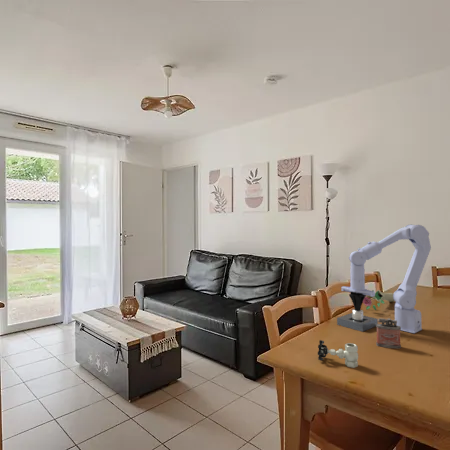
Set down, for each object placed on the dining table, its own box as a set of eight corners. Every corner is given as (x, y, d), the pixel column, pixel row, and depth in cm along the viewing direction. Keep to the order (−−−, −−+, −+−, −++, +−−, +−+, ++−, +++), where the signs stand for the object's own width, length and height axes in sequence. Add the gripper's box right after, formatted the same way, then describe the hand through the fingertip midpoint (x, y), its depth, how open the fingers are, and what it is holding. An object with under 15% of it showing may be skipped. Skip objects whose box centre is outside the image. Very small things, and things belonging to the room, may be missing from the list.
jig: (377, 325, 142) (377, 318, 142) (362, 331, 134) (362, 324, 134) (352, 319, 151) (352, 312, 151) (337, 324, 144) (337, 317, 144)
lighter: (400, 345, 119) (399, 318, 119) (401, 349, 116) (401, 321, 116) (375, 343, 122) (375, 316, 122) (376, 346, 119) (376, 319, 119)
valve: (359, 362, 106) (321, 356, 112) (359, 342, 106) (321, 336, 112) (357, 371, 100) (317, 363, 106) (357, 349, 100) (317, 343, 106)
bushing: (364, 326, 141) (364, 310, 141) (360, 328, 138) (360, 312, 138) (354, 324, 144) (354, 308, 144) (350, 326, 141) (350, 310, 141)
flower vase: (396, 316, 178) (370, 316, 154) (374, 306, 187) (347, 304, 163) (404, 297, 177) (380, 293, 153) (382, 287, 186) (356, 282, 162)
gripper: (337, 277, 145) (337, 308, 145) (368, 282, 133) (368, 315, 133) (346, 275, 149) (346, 305, 149) (377, 280, 137) (377, 312, 137)
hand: (357, 310), depth 141 cm, fingers closed, pressing on bushing
